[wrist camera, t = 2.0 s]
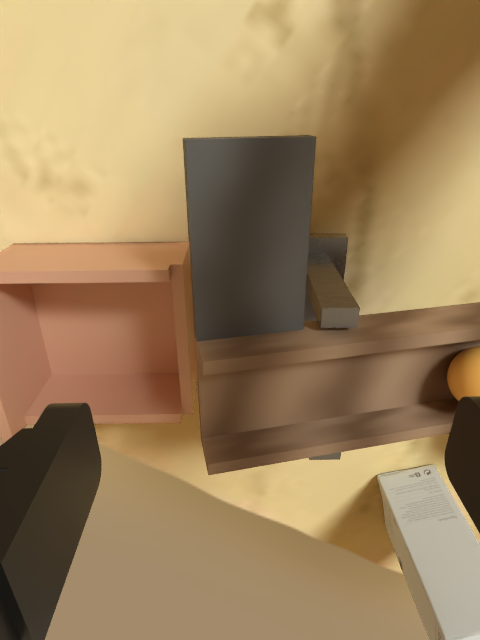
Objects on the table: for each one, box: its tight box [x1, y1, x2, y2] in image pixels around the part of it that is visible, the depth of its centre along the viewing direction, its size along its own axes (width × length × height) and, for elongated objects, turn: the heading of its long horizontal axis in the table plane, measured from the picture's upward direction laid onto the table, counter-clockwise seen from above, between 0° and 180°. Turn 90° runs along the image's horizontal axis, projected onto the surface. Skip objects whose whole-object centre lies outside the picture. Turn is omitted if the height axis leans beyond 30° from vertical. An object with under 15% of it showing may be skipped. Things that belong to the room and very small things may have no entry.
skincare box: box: [377, 465, 480, 640], centre depth 38 cm, size 8×6×15 cm
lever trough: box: [183, 135, 480, 475], centre depth 24 cm, size 20×18×3 cm
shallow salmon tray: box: [0, 242, 197, 444], centre depth 31 cm, size 12×13×8 cm
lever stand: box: [304, 234, 360, 460], centre depth 30 cm, size 5×13×10 cm, turn 0°
